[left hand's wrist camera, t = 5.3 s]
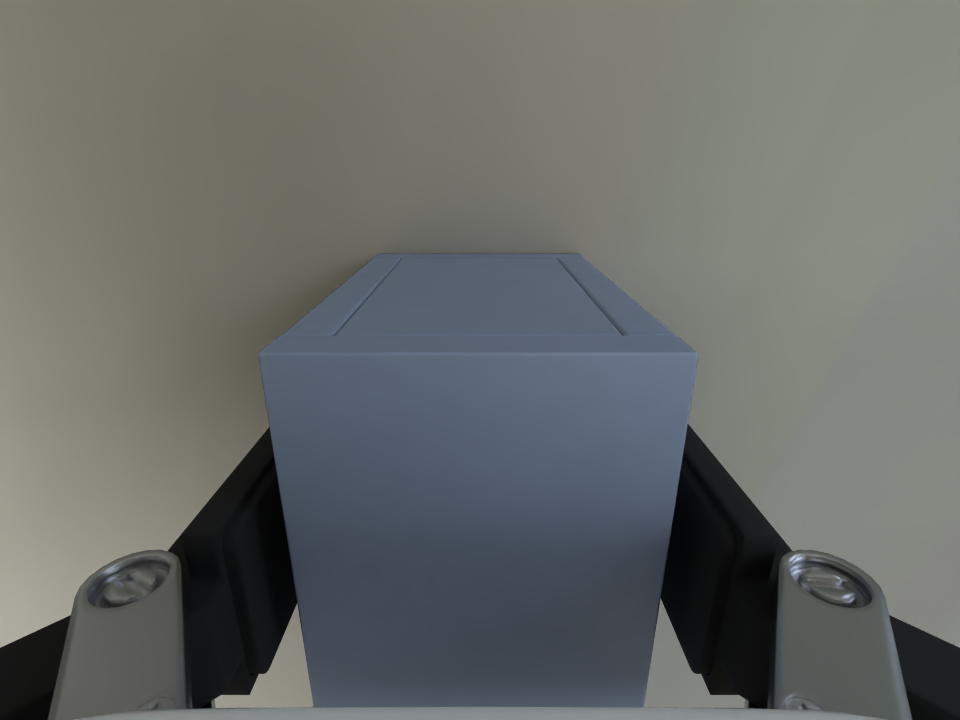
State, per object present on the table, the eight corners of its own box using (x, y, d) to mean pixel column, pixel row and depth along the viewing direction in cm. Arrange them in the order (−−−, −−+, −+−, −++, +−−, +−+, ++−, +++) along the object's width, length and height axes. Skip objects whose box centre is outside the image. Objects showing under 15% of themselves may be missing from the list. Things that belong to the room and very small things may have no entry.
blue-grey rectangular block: (550, 707, 22) (593, 1035, 14) (408, 707, 22) (365, 1035, 14) (580, 253, 16) (700, 353, 7) (377, 253, 16) (255, 352, 7)
